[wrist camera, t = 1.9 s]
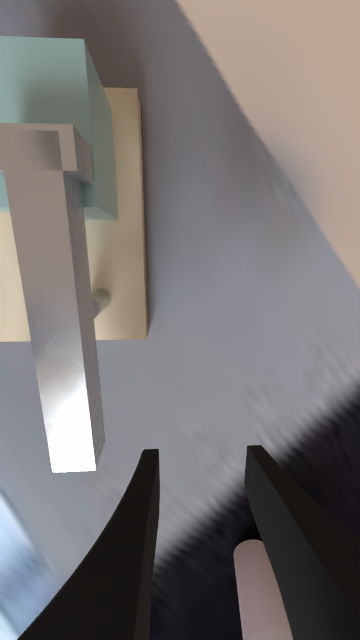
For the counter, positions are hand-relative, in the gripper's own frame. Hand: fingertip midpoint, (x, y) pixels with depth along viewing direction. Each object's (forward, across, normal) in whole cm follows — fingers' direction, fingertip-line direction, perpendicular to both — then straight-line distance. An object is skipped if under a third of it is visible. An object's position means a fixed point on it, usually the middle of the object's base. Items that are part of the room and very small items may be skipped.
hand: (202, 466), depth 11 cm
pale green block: (+8, +7, -14) cm, 18 cm away
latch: (+8, +6, -6) cm, 12 cm away
